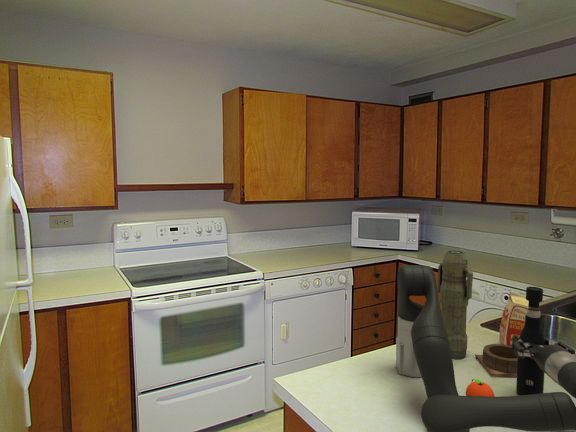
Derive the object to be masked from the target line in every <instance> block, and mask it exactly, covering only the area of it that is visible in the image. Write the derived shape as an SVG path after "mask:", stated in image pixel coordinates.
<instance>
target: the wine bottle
mask: <svg viewBox="0 0 576 432" xmlns="http://www.w3.org/2000/svg"><path fill="white" fill-rule="evenodd" d="M525 291H526V292H525V296H526V300H528V301H529V304H528V307H529V308H527V310H526V311H527V313H526V314H527V315H525V325H524V327H523V330H522V332H521V334H520V338H521V339H522V340H523V341H525V342H532V343H535V344H537V345H545V339H544V337H545V336H544V333H543V329H542V317H541V310H540V303H542V302H543V299H544V288H541V287H539V286H527V287H526V290H525ZM523 347H524V348H525V345H523ZM531 348H532V346H531ZM544 384H545V372H543V371H542V370H541V369H540V368H539V366H538V364H537V362H536V361H535V360H533V359H531V358H530V357H528V356H524V358H523V359H519V358H518V362H517V378H516V388H515V391H516V394H517V396H521V395H531V394H541V393H544V389H545V388H544V386H545V385H544Z"/></svg>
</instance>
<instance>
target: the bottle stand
mask: <svg viewBox="0 0 576 432" xmlns="http://www.w3.org/2000/svg"><path fill="white" fill-rule="evenodd" d="M474 356H475V357H474V358H475V359H476V361H478V363H479V364H480V365H481V367H483V368H484V370H485V371H486V373H487V374H488V375H489V376H490V377H491V378H516V379H517V362H518V357H517V356H516V354H515V353H514V352H513V351H512V346H509V345H504V344H500V343H491V344H486V345H484V346H483V349H482V354H475V355H474Z"/></svg>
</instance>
